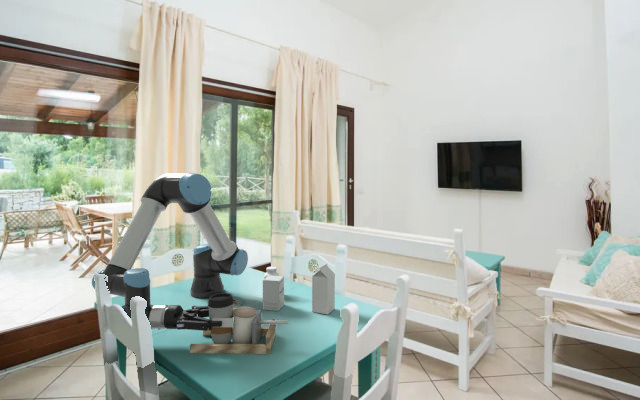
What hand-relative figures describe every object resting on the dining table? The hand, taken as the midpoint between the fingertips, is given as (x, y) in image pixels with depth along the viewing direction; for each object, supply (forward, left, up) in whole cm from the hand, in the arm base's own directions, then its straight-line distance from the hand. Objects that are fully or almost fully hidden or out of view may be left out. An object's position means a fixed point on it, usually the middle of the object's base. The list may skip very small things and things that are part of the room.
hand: (236, 317), depth 116 cm
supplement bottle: (-11, +46, -9) cm, 48 cm away
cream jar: (+2, +1, -9) cm, 9 cm away
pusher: (+11, +4, -9) cm, 15 cm away
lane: (-1, 0, -9) cm, 9 cm away
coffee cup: (-4, -2, -8) cm, 9 cm away
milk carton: (+18, +37, -9) cm, 42 cm away
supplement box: (-3, +33, -9) cm, 34 cm away
